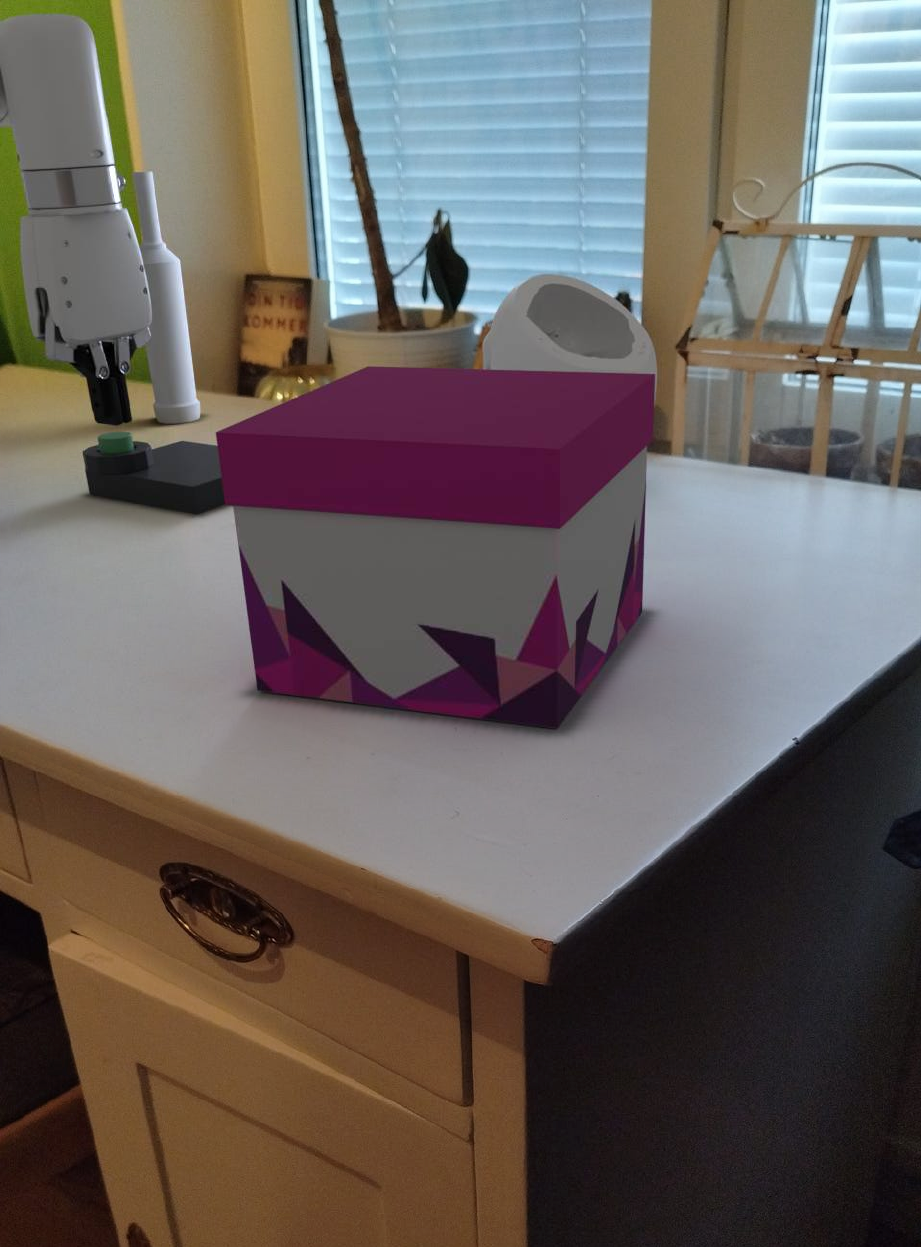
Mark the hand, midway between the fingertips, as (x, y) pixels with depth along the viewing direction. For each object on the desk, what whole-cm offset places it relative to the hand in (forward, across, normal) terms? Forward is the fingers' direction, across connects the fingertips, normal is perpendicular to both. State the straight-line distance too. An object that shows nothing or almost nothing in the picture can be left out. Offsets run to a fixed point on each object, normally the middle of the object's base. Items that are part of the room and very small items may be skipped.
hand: (113, 422), depth 112 cm
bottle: (+6, -25, -20) cm, 32 cm away
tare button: (+3, 0, 0) cm, 3 cm away
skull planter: (+7, -23, +32) cm, 40 cm away
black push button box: (+6, -4, +4) cm, 9 cm away
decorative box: (+7, +16, +49) cm, 52 cm away
